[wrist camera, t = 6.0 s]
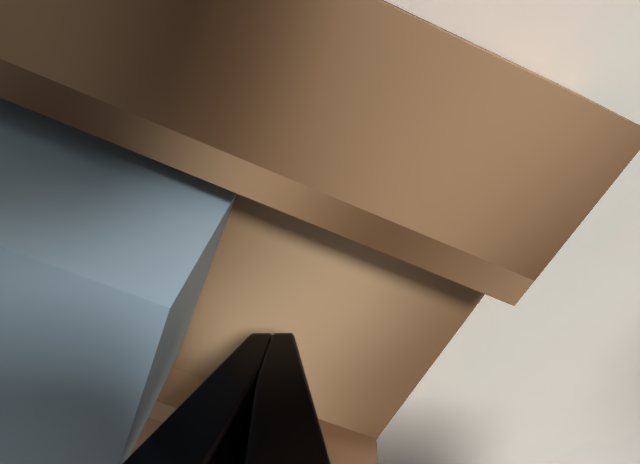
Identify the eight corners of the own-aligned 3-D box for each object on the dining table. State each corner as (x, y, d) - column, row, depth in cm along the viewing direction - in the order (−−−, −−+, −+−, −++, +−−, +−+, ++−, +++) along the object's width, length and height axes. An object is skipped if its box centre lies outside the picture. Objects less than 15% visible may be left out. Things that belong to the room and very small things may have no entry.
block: (236, 193, 9) (169, 308, 6) (178, 354, 11) (106, 502, 8) (-93, 59, 8) (-376, 108, 5) (-87, 260, 10) (-283, 383, 7)
